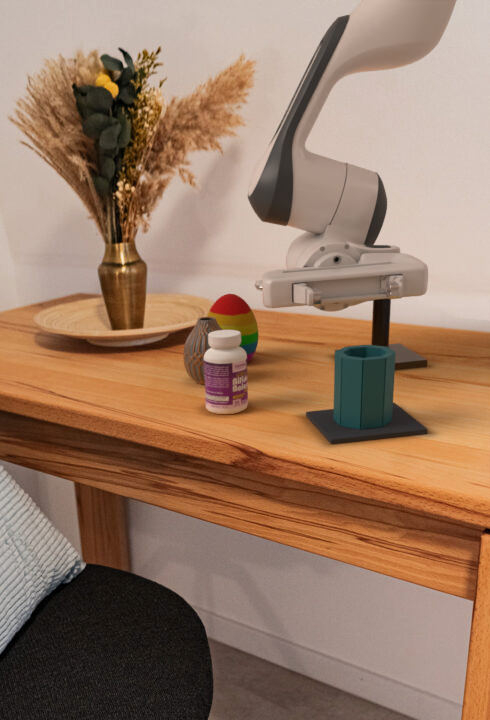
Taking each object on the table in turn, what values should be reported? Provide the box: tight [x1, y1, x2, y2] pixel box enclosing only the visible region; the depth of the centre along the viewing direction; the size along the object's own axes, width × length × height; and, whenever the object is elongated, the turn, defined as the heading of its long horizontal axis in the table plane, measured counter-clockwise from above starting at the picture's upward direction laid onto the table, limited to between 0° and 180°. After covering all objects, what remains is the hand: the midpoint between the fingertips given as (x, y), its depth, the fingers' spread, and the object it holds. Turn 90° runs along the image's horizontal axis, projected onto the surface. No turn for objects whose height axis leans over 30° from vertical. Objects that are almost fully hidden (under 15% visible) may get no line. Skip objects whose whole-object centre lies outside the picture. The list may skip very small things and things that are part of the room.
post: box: [334, 299, 428, 371], centre depth 118 cm, size 10×10×13 cm
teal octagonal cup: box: [333, 344, 396, 429], centre depth 95 cm, size 6×6×8 cm
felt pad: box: [305, 402, 429, 445], centre depth 97 cm, size 11×10×1 cm
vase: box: [182, 316, 222, 385], centre depth 116 cm, size 7×7×9 cm
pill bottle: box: [204, 330, 249, 415], centre depth 104 cm, size 5×5×10 cm
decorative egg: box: [206, 293, 259, 363], centre depth 124 cm, size 8×8×10 cm
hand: (355, 295), depth 98 cm, fingers open, 8 cm apart
